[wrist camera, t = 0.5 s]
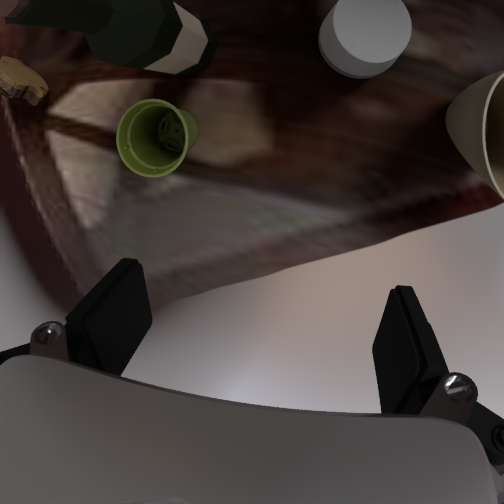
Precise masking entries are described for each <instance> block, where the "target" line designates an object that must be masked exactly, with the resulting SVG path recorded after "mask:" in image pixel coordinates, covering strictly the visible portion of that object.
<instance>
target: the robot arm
mask: <svg viewBox="0 0 504 504" xmlns="http://www.w3.org/2000/svg"><path fill="white" fill-rule="evenodd" d="M65 319H66V322H67V323H66V324H65V325H63V324H62V323H60V322H57V321H50V322H46V323H43V324H41V325H40V326H38V327H37V328H36V329H35V330H34V331H33V333H32V334H31V339H30V343H28V344H24V345H21V346H18V347H15V348H12V349H8V350H6V351H2V352H0V504H504V419H503V418H501V417H500V416H498V415H497V414H495V413H494V412H492V411H490V410H489V409H487V408H486V407H485V406H483V405H481V404H480V403H478V402H477V397H478V390H477V387H476V385H475V383H474V382H473V381H472V379H470V378H469V377H468V376H466V375H464V374H462V373H456V372H453V373H449V371H448V368H447V365H446V362H445V359H444V357H443V354H442V352H441V349H440V347H439V344H438V341H437V339H436V336H435V334H434V331H433V329H432V327H431V325H430V323H428V321H427V319H426V317H425V314H424V312H423V310H422V307H421V305H420V303H419V301H418V298H417V296H416V294H415V292H414V290H413V288H412V287H411V286H401V285H397V286H396V287H395V289H391V290H390V293H389V296H388V300H387V303H386V306H385V310H384V313H383V316H382V319H381V322H380V325H379V328H378V331H377V334H376V337H375V340H374V343H373V348H372V353H373V359H374V365H375V371H376V376H377V384H378V390H379V397H380V405H381V413H346V412H326V411H311V410H299V409H287V408H278V407H270V406H262V405H254V404H247V403H241V402H234V401H228V400H222V399H216V398H211V397H205V396H200V395H195V394H190V393H185V392H181V391H176V390H172V389H167V388H163V387H159V386H155V385H151V384H147V383H143V382H139V381H135V380H132V379H128V378H125V377H121V374H122V372H123V371H124V369H125V368H126V366H127V364H128V363H129V361H130V359H131V358H132V356H133V354H134V353H135V351H136V349H137V348H138V346H139V344H140V343H141V341H142V339H143V338H144V336H145V335H146V333H147V331H148V330H149V328H150V327H151V324H152V314H151V310H150V304H149V299H148V294H147V289H146V284H145V278H144V272H143V267H142V264H140V263H139V262H138V260H137V259H130V258H123V259H121V260H120V261H119V262H118V263H117V264H116V265H115V266H114V267H113V268H112V269H111V270H110V271H109V272H108V273H107V274H106V275H105V276H104V277H103V278H102V279H101V280H100V281H99V282H98V283H97V284H96V285H95V287H94V288H93V289H92V290H91V291H90V292H89V293H88V294H87V295H86V296H85V297H84V298H83V299H82V300H81V302H79V304H78V305H77V306H76V307H75V308H74V309H73V310H72V311H71V312H70V313H69V314H68V315H67V316H66V318H65Z"/></svg>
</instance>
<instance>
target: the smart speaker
mask: <svg viewBox="0 0 504 504" xmlns="http://www.w3.org/2000/svg"><path fill="white" fill-rule="evenodd" d="M411 29H412V27H411V19H410V16H409V13H408V11H407V9H406V7H405V5H404V4H403V2H402V1H401V0H338V2H337V3H336V4H335V5H334V7H333V8H332V10H331V11H330V12H329V14H328V15H327V16H326V18H325V19H324V21H323V23H322V25H321V27H320V30H319V35H318V44H319V49H320V52H321V54H322V56H323V58H324V60H325V61H326V62H327V63H328V65H329V66H330V67H331V68H333V69H334V70H335V71H337V72H338V73H340V74H342V75H344V76H347V77H350V78H356V79H366V78H372V77H375V76H377V75H379V74H381V73H383V72H384V71H386V70H387V69H388V68H389V67H390V66H391V65H392V64H393V63H394V62H395V60H396V59H397V58H398V57H399V56H400V54H401V53H402V52H403V51H404V49H405V48H406V46H407V44H408V42H409V40H410V37H411Z"/></svg>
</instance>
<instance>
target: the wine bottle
mask: <svg viewBox="0 0 504 504" xmlns="http://www.w3.org/2000/svg"><path fill="white" fill-rule="evenodd" d="M0 17H5V22H6V24H19V25H31V26H41V27H49V28H56V29H63V30H69V31H75V32H81V33H84V35H85V37H86V40H87V42H88V44H89V46H90V49H91V51H92V53H93V55H94V57H95V60H100V61H104V62H108V63H112V64H116V65H119V66H125V67H133V68H140V69H147V70H153V71H159V72H165V73H170V74H176V75H181V76H186V77H187V76H189V75H191V74H194V73H196V72H198V71H200V70H202V69H204V68H207V67H208V66H209V63H210V61H211V59H212V57H213V55H214V52H215V50H216V48H217V44H216V42H215V40H214V37H213V35H212V33H211V31H210V28H209V27H208V26H206V25H205V24H204V23H202V22H201V21H200V20H198V19H197V18H196V17H194V16H193V15H191V14H190V13H189V12H187V11H186V10H184V9H183V8H181V7H180V6H178V5H177V4H176V3H174V2H173V1H171V0H1V1H0Z"/></svg>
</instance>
